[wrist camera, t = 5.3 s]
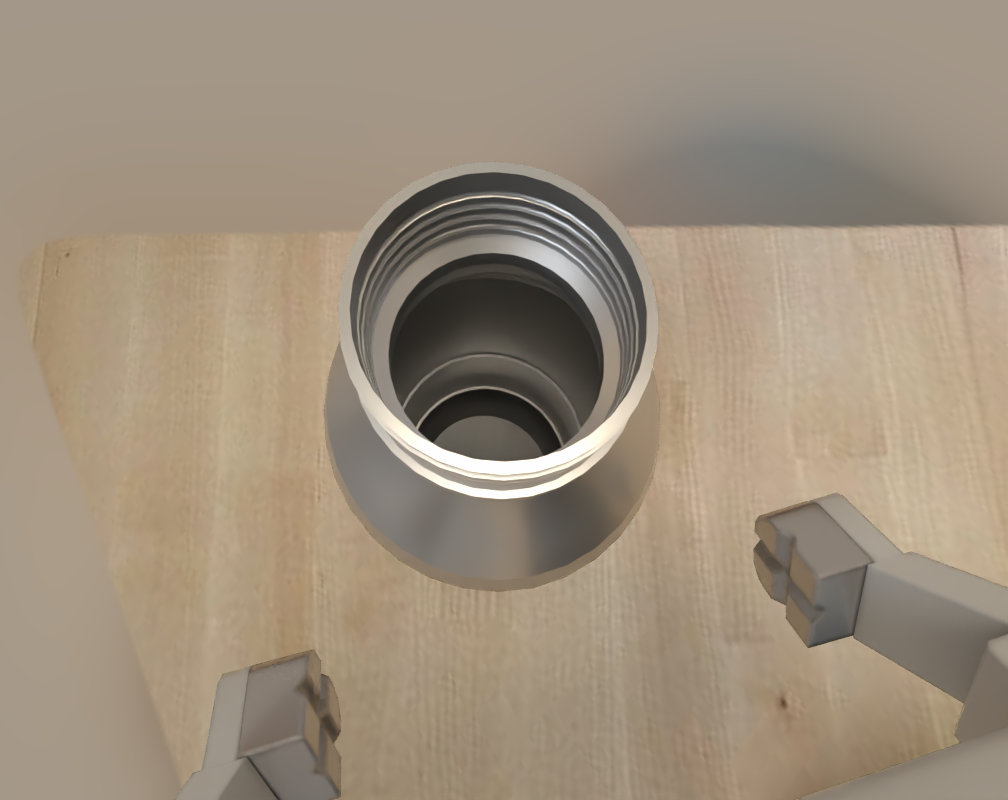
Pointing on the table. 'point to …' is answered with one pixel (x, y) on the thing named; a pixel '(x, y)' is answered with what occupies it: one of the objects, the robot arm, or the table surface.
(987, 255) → the table surface
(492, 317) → the silver bottle
